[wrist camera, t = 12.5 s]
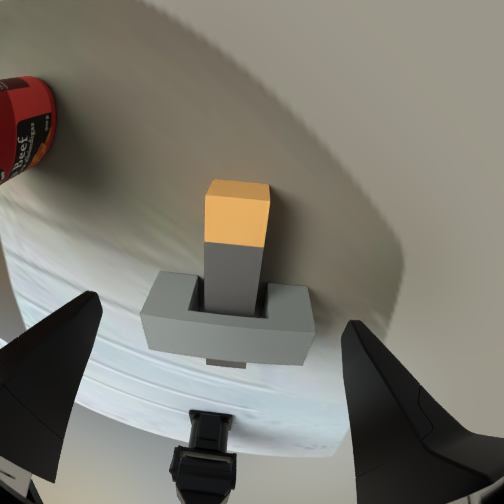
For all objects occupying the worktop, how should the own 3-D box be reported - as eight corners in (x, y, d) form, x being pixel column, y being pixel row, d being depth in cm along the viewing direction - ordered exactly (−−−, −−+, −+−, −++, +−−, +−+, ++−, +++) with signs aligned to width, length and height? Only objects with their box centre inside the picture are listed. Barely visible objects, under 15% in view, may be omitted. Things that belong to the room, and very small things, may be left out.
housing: (297, 320, 24) (302, 365, 20) (164, 306, 24) (148, 349, 19) (307, 286, 22) (316, 332, 18) (159, 271, 22) (139, 313, 17)
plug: (246, 344, 26) (245, 368, 24) (210, 340, 26) (206, 364, 23) (268, 184, 18) (270, 201, 15) (213, 179, 17) (205, 195, 15)
